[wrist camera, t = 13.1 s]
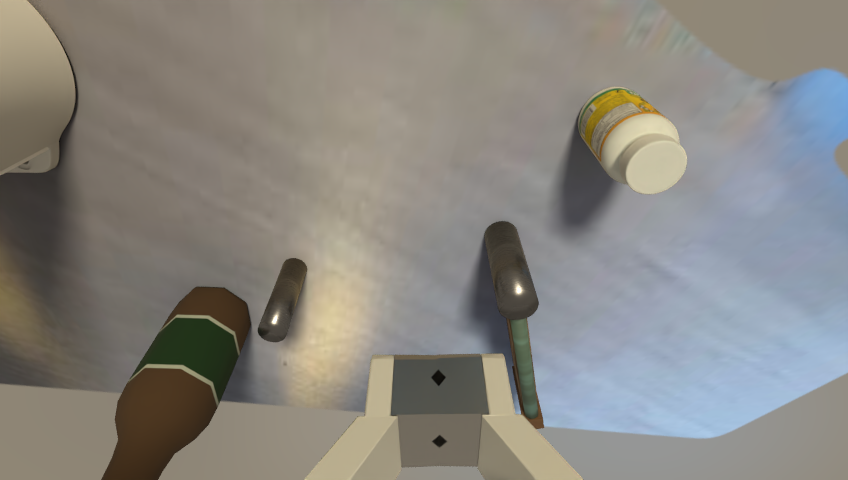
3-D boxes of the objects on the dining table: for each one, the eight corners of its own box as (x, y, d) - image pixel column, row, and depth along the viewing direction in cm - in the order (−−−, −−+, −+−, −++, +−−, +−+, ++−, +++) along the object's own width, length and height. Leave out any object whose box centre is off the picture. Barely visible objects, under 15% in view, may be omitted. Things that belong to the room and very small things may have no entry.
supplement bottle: (566, 107, 39) (603, 155, 31) (630, 71, 38) (686, 113, 30) (590, 158, 42) (629, 215, 34) (651, 127, 40) (707, 180, 32)
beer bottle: (206, 343, 55) (83, 589, 35) (163, 294, 50) (-4, 541, 31) (267, 326, 53) (174, 573, 33) (228, 274, 49) (96, 520, 29)
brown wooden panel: (494, 261, 47) (505, 312, 41) (515, 258, 46) (529, 308, 41) (513, 375, 56) (524, 430, 50) (530, 373, 56) (543, 427, 50)
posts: (516, 218, 45) (537, 286, 37) (518, 246, 47) (539, 316, 39) (278, 257, 48) (248, 329, 39) (289, 281, 50) (262, 355, 41)
